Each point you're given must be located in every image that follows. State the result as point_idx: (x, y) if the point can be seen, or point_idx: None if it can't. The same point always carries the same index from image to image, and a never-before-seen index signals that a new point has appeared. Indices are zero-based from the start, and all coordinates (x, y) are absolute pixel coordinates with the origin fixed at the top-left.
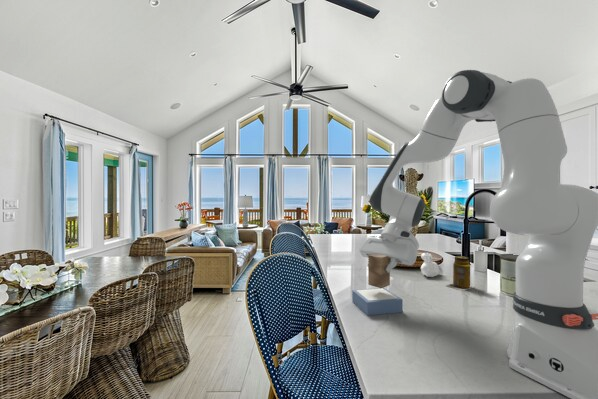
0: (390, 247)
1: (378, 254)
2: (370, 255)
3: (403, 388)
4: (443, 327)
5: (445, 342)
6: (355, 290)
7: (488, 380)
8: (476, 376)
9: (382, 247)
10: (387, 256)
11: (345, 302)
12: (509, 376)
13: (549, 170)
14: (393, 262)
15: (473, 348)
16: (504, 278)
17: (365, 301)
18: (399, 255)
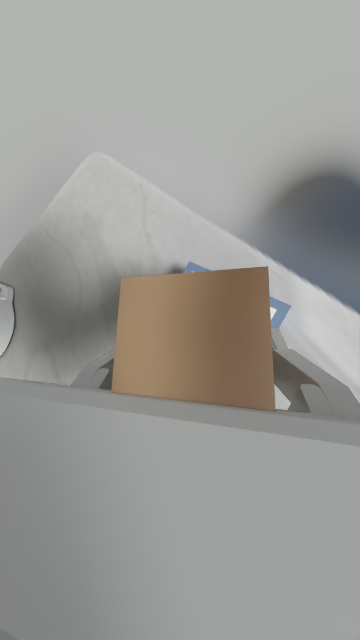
0: (28, 592)
1: (217, 391)
2: (244, 276)
3: (75, 177)
4: (80, 335)
5: (68, 289)
6: (280, 311)
7: (27, 250)
8: (35, 247)
9: (213, 611)
10: (114, 378)
11: (285, 294)
12: (14, 272)
13: None
14: (93, 362)
15: (42, 302)
16: None
17: (198, 265)
18: (3, 401)
